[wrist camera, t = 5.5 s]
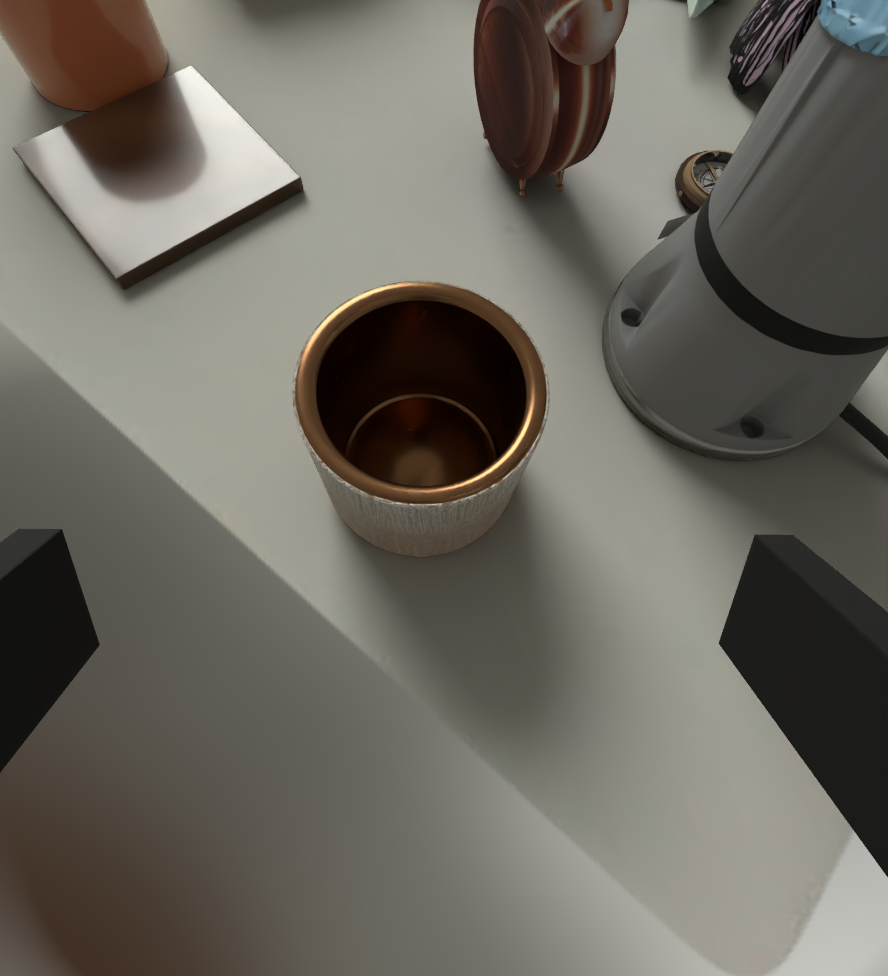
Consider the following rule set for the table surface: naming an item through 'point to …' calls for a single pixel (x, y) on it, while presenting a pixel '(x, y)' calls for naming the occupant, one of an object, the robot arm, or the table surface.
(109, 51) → the copper solid cylinder
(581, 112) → the alarm clock
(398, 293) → the planter
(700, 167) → the compass
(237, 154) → the brown wooden square plate
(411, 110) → the table surface
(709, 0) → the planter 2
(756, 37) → the decorative flower
